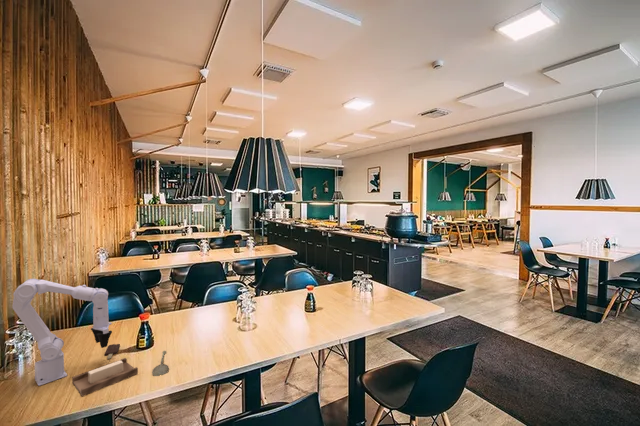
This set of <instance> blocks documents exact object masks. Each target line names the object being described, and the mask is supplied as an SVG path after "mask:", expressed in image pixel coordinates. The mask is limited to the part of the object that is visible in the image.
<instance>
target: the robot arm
mask: <svg viewBox="0 0 640 426" xmlns="http://www.w3.org/2000/svg"><path fill="white" fill-rule="evenodd" d="M48 292H51V293H56V294H64V295H71V296H72V298H73V299H76V300H81V301H87V302H92V303H93V307H92V314H93V315H92V319H93V320H92V322H93V324H92V325H93V326H92V327H91V328H90V330H91V332H92V334H93V336H94V340H95V343H96V344H98V343H99V345H100V348H101V349H103V348H107V347H108V346H109V345H108V344H109V339H110V337H111V335H112V333H113V331H112V330H109V329H110V328H109V326H111V325H113V323H112V322H111V321H109V319H110V318H109V302H108V299H109V291H108V290H107V289H105V288H102V287H100V288H98V287H95V288H94V287H91V286H90V287H89V286H87V284H82V285H77V286H71V285H67V284H62V283H57V282H54V281H49V280H46V279H38V278H28V279H27V280H25V281H24V282H23V283H22V284H19V285H18V286H17V288H16V289H15V290H14V291H13V300H12V306H11V307H12V310H13V311H14V313H15V314H16V315H17V317H18V318H19V319H20V321H21V322H22V323H23V324H24V326H25V328H26V329H27V330H28V332H29V333H30V334H31V335H32V337H33V338H34V340H35V341H36V342H37V348H38V350H39V352H40V358H41V359H40V360H38V361H35V362H34V381H35V382H36V385H37V386H38V387H40V386H43V385H46V384H49V383H51V382H54V381H57V380H59V379H63V378H66V377H67V376H68V374H67V372H66V371H65V359H64V358H65V355H64V351H62V349H63V348H64V345H65V343H64V340H63V339H62V338H60V337H58V336H57V335H56V333H52V332H51V330H50V329H49V327H48V326H47V325H46V323H45V322H44V320H43V319H42V318H41V317H40V314H39V313H38V312H37V311H36V309H35V308H34V306H33V305H32V301H33V300H34V298H35V296H36V294H37V295H42V294H46V293H48Z"/></svg>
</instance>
